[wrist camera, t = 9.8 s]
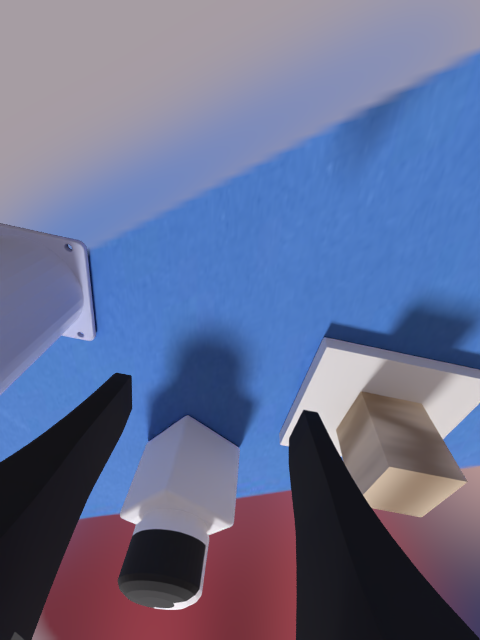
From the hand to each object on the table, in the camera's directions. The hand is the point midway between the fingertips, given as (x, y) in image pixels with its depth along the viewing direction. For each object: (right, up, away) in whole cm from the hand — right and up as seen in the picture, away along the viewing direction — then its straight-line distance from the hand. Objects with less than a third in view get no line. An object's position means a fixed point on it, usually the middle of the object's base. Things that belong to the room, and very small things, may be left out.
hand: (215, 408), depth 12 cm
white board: (+12, -4, +13) cm, 18 cm away
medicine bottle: (-4, -9, +18) cm, 20 cm away
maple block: (+12, -4, +12) cm, 17 cm away
